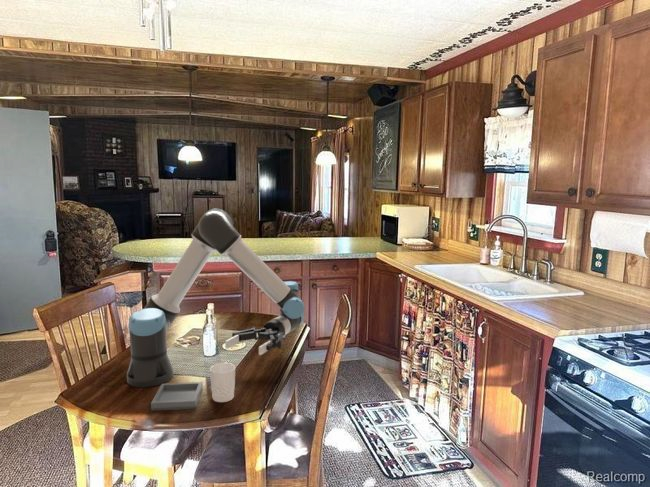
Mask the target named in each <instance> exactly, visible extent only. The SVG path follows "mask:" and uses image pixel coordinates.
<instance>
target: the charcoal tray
mask: <svg viewBox="0 0 650 487" xmlns="http://www.w3.org/2000/svg"><path fill="white" fill-rule="evenodd" d="M203 389H204V388H203V382H202V381H195V382H194V381H193V382H173V383H172V382H171V383H170V382H169V383H168V382H167V383H162V384H160V386H159V388H158V389H157V392H156V394H155V395H154V397H153V399H152V401H151V402H150V411H151V412H154V411H155V412H156V411H157V412H159V411H175V410H176V411H177V410H178V411H179V410H195V409H197V406H198V404H199V400H200V399H201V395H202V392H203Z"/></svg>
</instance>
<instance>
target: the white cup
mask: <svg viewBox="0 0 650 487" xmlns="http://www.w3.org/2000/svg"><path fill="white" fill-rule="evenodd" d="M209 377H210V378H209V379H210V388H211V394H212V400H213V401H214V402H216V403H226V402H229V401H231V400H233V399H234V397H235V388H236V387H235V386H236V365H235V364H234V363H231V362H219V363H215V364H213V365H211V366H210V367H209Z"/></svg>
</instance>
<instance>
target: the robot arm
mask: <svg viewBox="0 0 650 487" xmlns="http://www.w3.org/2000/svg"><path fill="white" fill-rule="evenodd" d="M191 238H192V241H191V242H190V243H189V245H188V247H187V248H186V250H185V252H184V253H183V254H182V256H181V258H180V259H179V261H178V263H177V264H176V266H175V267H174V269H173V270H172V272H171V273H170V275H169V276H168V278H167V280H165V283H164V284H163V286H162V287H161V289H160V290H159V292H158V293H156V294H152V296H150V298H149V300H148V301H147V303H146V304H145V306H144V307H143V308H142V309H139V310H137V311H134V312H133V313H132V314H131V315H130V317H129V319H128V330H129V343H130V344H129V345H130V362H129V365H128V370H127V372H126V383H127V384H128V385H129V386H131V387H136V388H149V387H155V386H159V385H161V384H166V382H167V383H168V382H169V381H170V380H171V379H172V378H173V376H174V367H173V365H172V363H171V360H170V358H169V356H168V350H167V349H168V348H167V346H168V345H167V344H168V343H167V334H168V332H169V330H170V327H171V326H172V324H173V322H174V321H175V320H176V318H177V316H178V315H179V313H180V311H181V308H180V305H181V302H182V301H183V299H184V298H185V297H186V295H187V293H188V291H190V289H191V287H192V286H193V284H194V282H195V280H196V279H197V278H198V276H199V275H200V273H201V271H202V270H203V269H204V267H205V265H206V264H207V262H208V260H209V259H210V257H211V256H212V254H213V253H215V252H218V253H219V254H220V255H221V256H224V255H225V256H226V257H227V258H228V259H229V260H230V261H231V262H232V263H233V264H235V265H236V266H237V267H238V269H240V270H241V271H242V273H244V274H245V275H246V276H247V277H248V278H249V279H250V280H251V281H252V282H253V283H254V284H255V285H256V286H257V287H258V288H259V289H260V290H261V291H262V292H264V294H265V295H267V297H268V298H270V299H271V300H272V301H273V302H274V303H275V305H277V306H278V307H279V315H278V316H277V317H275V318H272V319H271V320H268V321H267V322H266V323H264V325H263V327H261V328H257V327H256V326H253V327H252V328H251V327H250V328H248V329H244V330H239V331H234V332H232V333H231V334H232V335H231V337H230V338H228V339H226V340H224V341H225V342H224V344H225V350H228V349H229V348H232V347H233V346H235V345H237V344H239V343H240V342H242V341H243V342H244V341H250V340H255V341H258V340H267V341H266V342H264V343H263V344H261V345H260V346H258V356H262V355H263V354H265V353H267V352H268V351H271V350H273V349H276V348H277V349H282V346H283V343H284V340H286V335H288V334H289V333H292V332H293V331H294V330H295V331H296V330H297V329H298V328H299V327H301V325H303V323H304V321H305V320H304V319H305V316H304V312H305V303H304V301H303V300H302V298H301V296H300V294H299V291H300V289H299V283H298V282H296V281H291V280H289V281H283V280H282V279H281V277H279V276H278V275H277V273H276V272H274V271H273V270H272V268H270V267H269V266H268V265H267V264H266V263H265V262H264V260H262V259H261V258H260V257H259V256H258V255H257V253H255V251H253V249H251V248H250V246H248V245H247V244H246V243H245V242H244V241H243V239H242V235H241V233H240V232H238V230H237V229H236V228H235V226H234V223H233V219H232V217H231V214H229V213H228V212H227V211H226V210H223V209H221V208H212V209H209V210H207V211H206V212H204V214H203V215H202V217H200V219H199V221H198V223H197V224H196V226H195V227H194V230H193V231H192V232H191Z"/></svg>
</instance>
